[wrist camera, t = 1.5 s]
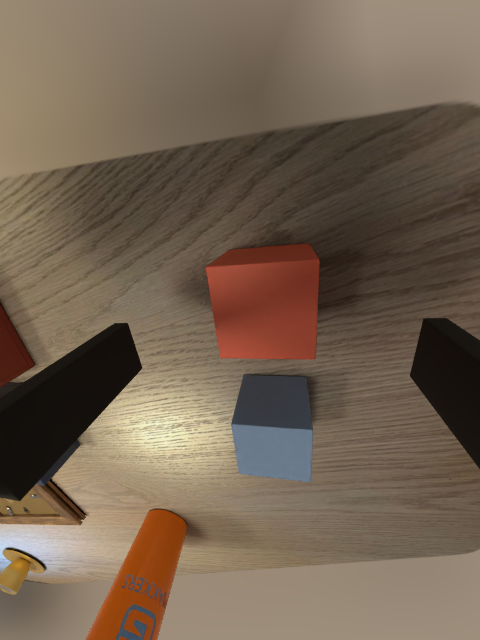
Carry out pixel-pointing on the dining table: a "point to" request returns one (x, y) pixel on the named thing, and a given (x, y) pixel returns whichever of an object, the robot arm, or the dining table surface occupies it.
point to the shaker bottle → (142, 582)
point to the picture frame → (41, 508)
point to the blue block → (273, 427)
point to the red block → (266, 302)
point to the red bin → (11, 352)
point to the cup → (17, 571)
